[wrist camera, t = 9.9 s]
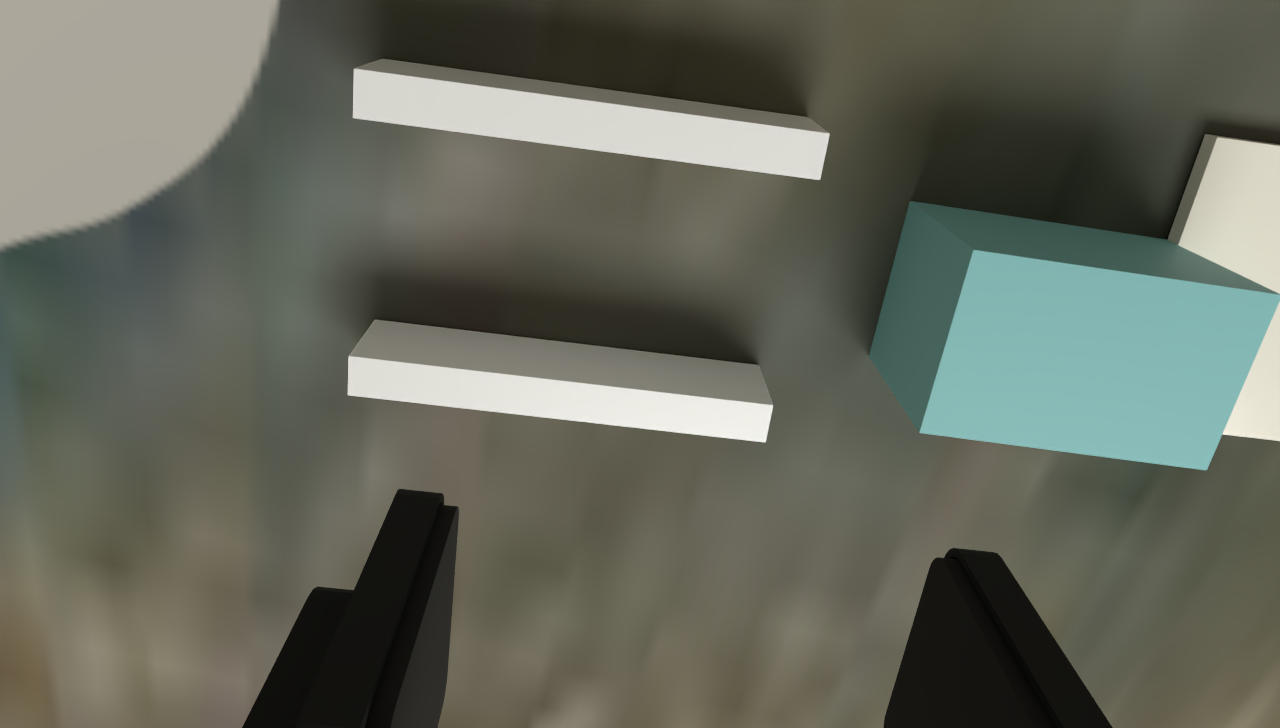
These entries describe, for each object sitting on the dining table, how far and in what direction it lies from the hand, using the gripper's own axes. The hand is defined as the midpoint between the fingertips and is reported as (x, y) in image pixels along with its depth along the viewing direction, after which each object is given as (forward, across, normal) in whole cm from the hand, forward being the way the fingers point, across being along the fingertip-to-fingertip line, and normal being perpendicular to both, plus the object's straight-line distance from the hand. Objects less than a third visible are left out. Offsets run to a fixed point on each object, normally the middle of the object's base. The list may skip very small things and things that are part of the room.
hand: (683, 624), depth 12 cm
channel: (+18, +2, 0) cm, 18 cm away
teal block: (+18, -11, 0) cm, 21 cm away
